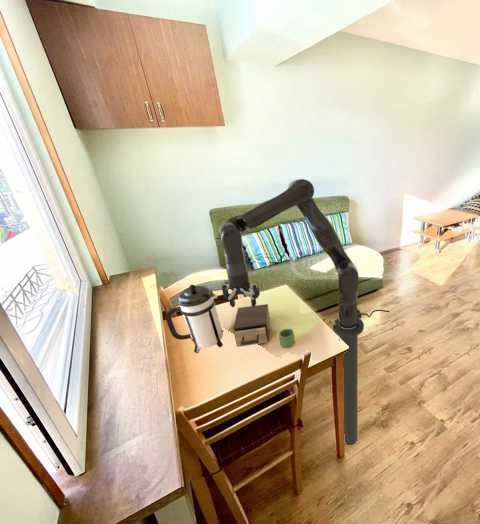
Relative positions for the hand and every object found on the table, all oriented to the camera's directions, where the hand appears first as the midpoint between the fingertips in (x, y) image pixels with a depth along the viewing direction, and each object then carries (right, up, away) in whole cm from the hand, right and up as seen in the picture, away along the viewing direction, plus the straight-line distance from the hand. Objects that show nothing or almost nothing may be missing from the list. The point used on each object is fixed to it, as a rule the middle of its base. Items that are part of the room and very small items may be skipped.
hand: (243, 306), depth 117 cm
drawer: (+1, -16, +9) cm, 18 cm away
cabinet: (0, -14, +14) cm, 20 cm away
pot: (+17, -17, +7) cm, 25 cm away
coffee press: (-19, -18, +6) cm, 27 cm away
